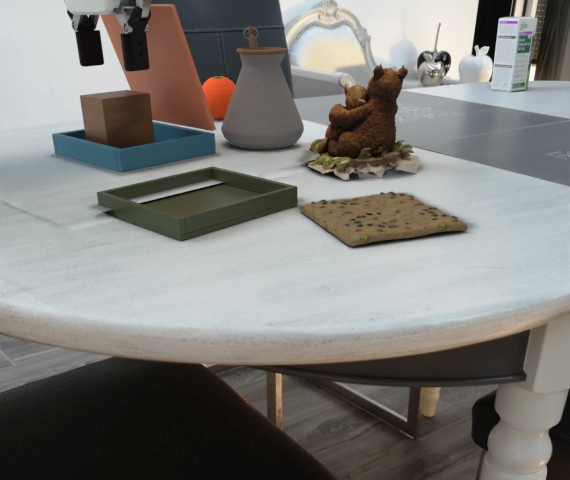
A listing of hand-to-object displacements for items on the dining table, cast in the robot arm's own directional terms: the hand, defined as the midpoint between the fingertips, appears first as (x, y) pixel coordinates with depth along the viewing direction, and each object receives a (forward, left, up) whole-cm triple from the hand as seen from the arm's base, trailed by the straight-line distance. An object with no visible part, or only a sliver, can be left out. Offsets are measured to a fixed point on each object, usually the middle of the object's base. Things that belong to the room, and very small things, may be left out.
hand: (114, 67), depth 81 cm
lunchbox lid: (+6, 0, 0) cm, 6 cm away
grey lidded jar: (+21, -4, -12) cm, 24 cm away
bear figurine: (+19, -24, -12) cm, 32 cm away
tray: (-7, -24, -11) cm, 27 cm away
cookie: (+2, -40, -11) cm, 41 cm away
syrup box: (+99, -3, -12) cm, 99 cm away
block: (0, 0, -11) cm, 11 cm away
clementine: (+31, +16, -12) cm, 37 cm away
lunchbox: (+2, 0, -11) cm, 11 cm away
